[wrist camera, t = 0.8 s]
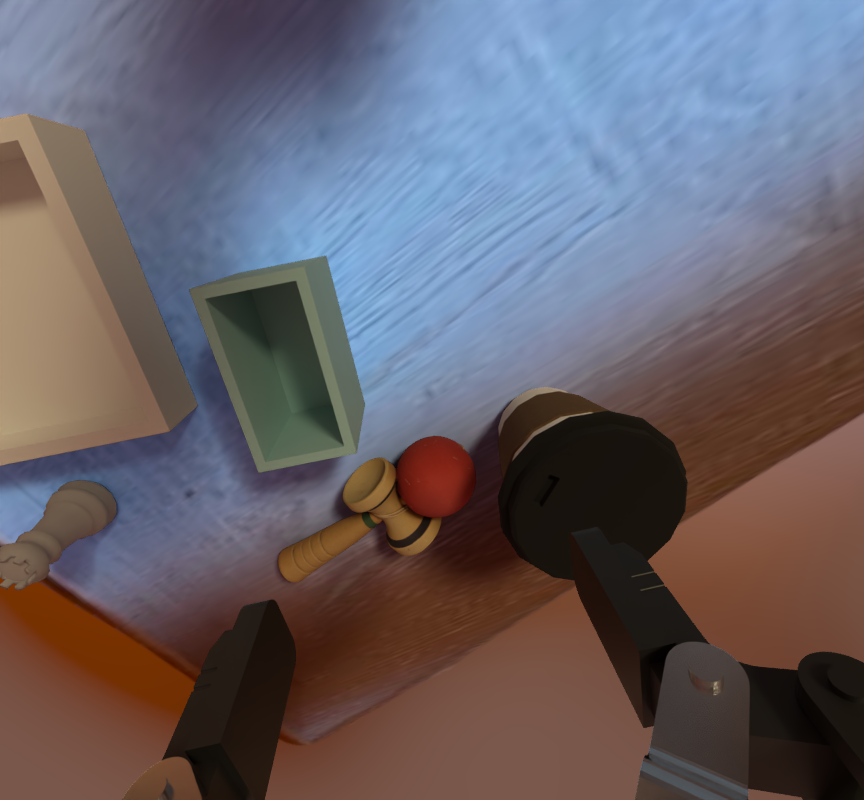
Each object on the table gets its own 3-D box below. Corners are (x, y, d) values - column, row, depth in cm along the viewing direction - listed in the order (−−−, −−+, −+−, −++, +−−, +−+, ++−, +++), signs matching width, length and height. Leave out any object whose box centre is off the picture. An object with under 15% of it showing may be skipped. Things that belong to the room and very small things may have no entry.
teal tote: (239, 272, 31) (188, 289, 23) (326, 255, 31) (304, 266, 23) (288, 418, 35) (258, 472, 27) (365, 403, 35) (356, 453, 27)
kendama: (336, 572, 42) (499, 479, 37) (308, 625, 36) (498, 523, 31) (282, 510, 41) (443, 403, 35) (244, 554, 35) (431, 434, 29)
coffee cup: (446, 455, 37) (469, 556, 26) (511, 334, 33) (569, 390, 22) (560, 499, 39) (625, 610, 28) (631, 390, 36) (737, 466, 25)
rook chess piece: (80, 466, 35) (-5, 533, 27) (132, 501, 36) (64, 573, 29) (47, 501, 36) (-45, 575, 28) (98, 534, 37) (24, 612, 30)
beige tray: (-182, 182, 27) (-288, 176, 23) (84, 130, 27) (27, 113, 23) (-15, 447, 34) (-73, 480, 29) (198, 405, 34) (169, 431, 29)
